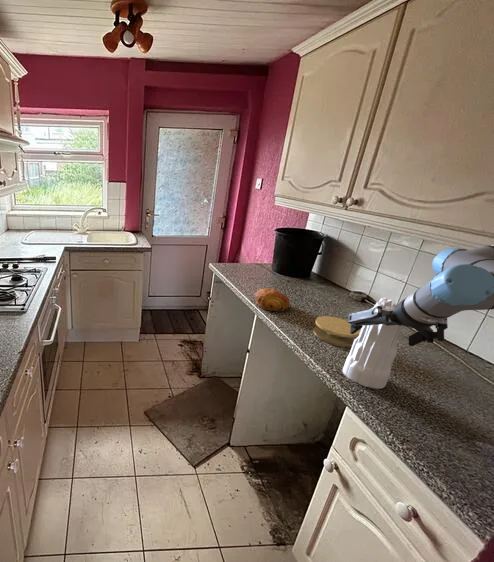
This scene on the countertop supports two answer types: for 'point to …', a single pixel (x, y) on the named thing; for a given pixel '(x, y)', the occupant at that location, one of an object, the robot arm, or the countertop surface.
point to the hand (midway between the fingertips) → (380, 335)
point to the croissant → (271, 299)
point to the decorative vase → (373, 352)
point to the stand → (334, 331)
